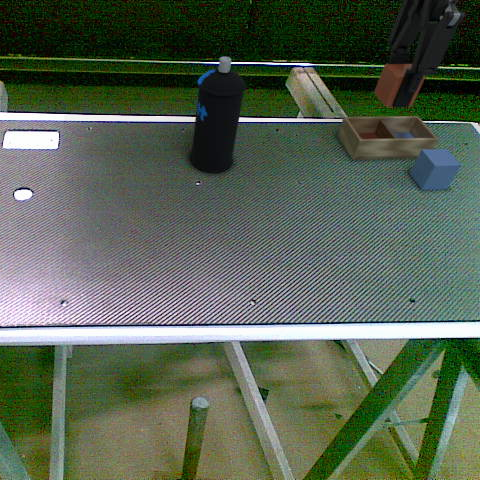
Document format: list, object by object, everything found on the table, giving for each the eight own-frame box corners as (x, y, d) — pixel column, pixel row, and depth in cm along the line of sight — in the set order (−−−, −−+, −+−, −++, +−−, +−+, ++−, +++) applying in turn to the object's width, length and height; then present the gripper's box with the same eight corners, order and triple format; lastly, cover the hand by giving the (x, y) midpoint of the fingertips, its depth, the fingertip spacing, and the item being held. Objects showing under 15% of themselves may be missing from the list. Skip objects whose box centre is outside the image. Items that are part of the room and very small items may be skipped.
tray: (409, 134, 101) (418, 115, 97) (429, 158, 95) (439, 139, 91) (337, 135, 99) (343, 116, 96) (352, 159, 93) (360, 140, 90)
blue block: (433, 172, 91) (447, 148, 87) (447, 189, 88) (461, 165, 84) (409, 173, 91) (421, 149, 87) (421, 190, 87) (435, 165, 83)
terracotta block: (399, 92, 88) (411, 63, 84) (412, 106, 84) (425, 77, 80) (373, 92, 87) (384, 64, 83) (385, 106, 84) (397, 77, 80)
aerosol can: (235, 152, 93) (254, 52, 79) (228, 177, 88) (247, 73, 73) (195, 145, 95) (205, 45, 80) (185, 168, 89) (195, 65, 75)
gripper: (402, -65, 75) (353, 75, 92) (464, -30, 62) (395, 125, 79) (446, -64, 76) (390, 74, 92) (516, -29, 63) (437, 124, 80)
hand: (392, 97), depth 86 cm, fingers closed on terracotta block, 5 cm apart
